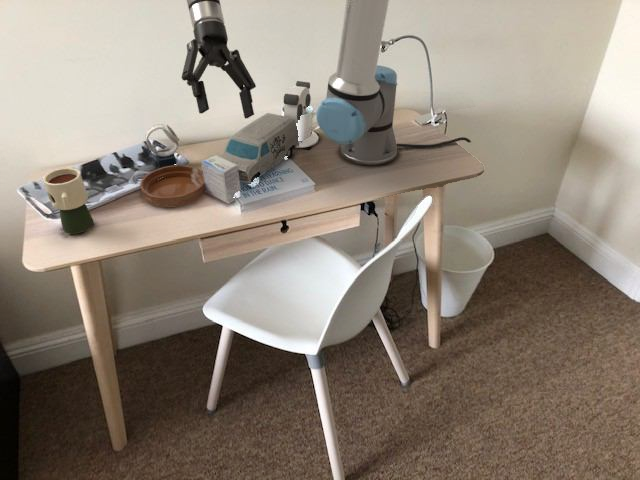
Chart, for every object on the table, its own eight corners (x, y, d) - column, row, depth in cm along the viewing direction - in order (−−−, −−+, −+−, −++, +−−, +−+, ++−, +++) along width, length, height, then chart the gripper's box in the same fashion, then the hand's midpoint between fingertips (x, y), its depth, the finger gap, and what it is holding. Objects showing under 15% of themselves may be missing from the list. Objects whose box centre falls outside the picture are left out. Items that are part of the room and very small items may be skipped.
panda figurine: (310, 151, 142) (309, 98, 133) (271, 145, 145) (268, 93, 135) (323, 133, 151) (323, 82, 142) (286, 128, 154) (284, 77, 145)
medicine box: (242, 197, 123) (238, 164, 118) (227, 205, 121) (223, 172, 115) (220, 185, 127) (215, 154, 122) (205, 193, 125) (200, 161, 120)
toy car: (213, 182, 129) (208, 145, 123) (268, 142, 146) (266, 108, 140) (249, 192, 125) (246, 155, 119) (301, 150, 142) (300, 116, 136)
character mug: (62, 217, 116) (43, 166, 108) (96, 211, 118) (80, 160, 110) (61, 245, 108) (40, 192, 100) (97, 238, 110) (80, 186, 102)
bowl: (213, 177, 131) (212, 166, 129) (197, 210, 119) (195, 199, 117) (155, 174, 132) (153, 163, 130) (133, 207, 120) (130, 195, 118)
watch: (185, 167, 135) (178, 127, 128) (153, 173, 132) (144, 133, 126) (181, 157, 139) (174, 118, 132) (150, 163, 136) (141, 123, 130)
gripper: (238, 44, 134) (256, 123, 133) (153, 22, 115) (173, 115, 114) (258, 31, 130) (276, 112, 128) (172, 6, 111) (193, 102, 109)
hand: (227, 114), depth 121 cm, fingers open, 13 cm apart
